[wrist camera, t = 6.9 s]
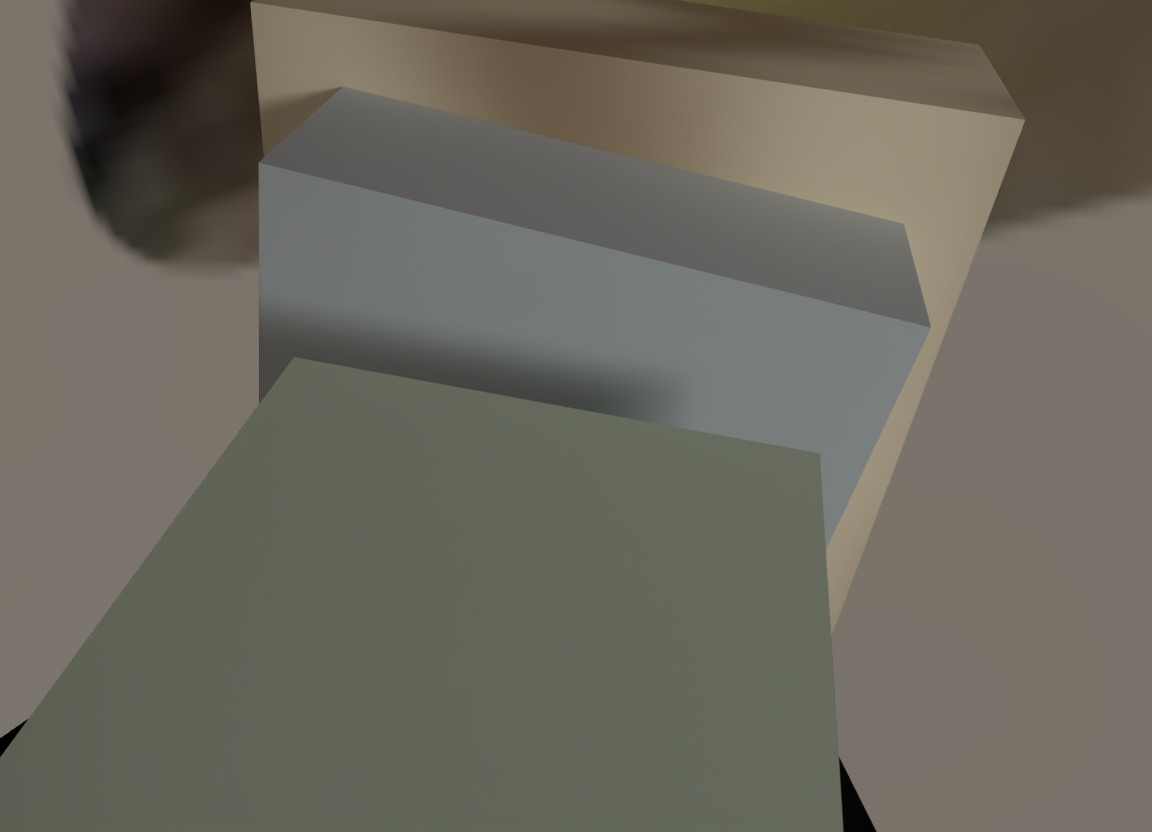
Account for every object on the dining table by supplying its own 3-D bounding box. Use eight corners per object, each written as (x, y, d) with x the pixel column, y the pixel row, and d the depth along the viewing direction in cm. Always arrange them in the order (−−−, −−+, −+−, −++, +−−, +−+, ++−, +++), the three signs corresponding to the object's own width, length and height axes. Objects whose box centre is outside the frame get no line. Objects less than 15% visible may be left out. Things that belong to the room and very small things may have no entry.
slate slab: (903, 223, 12) (931, 327, 10) (740, 610, 16) (735, 739, 14) (342, 87, 12) (258, 162, 10) (322, 506, 16) (259, 619, 14)
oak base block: (973, 35, 14) (1026, 119, 11) (817, 515, 19) (825, 653, 16) (351, -56, 15) (250, 1, 12) (364, 433, 20) (297, 553, 17)
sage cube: (819, 454, 9) (856, 1040, 5) (715, 774, 12) (688, 1306, 8) (293, 356, 9) (-59, 836, 5) (317, 692, 12) (98, 1165, 8)
